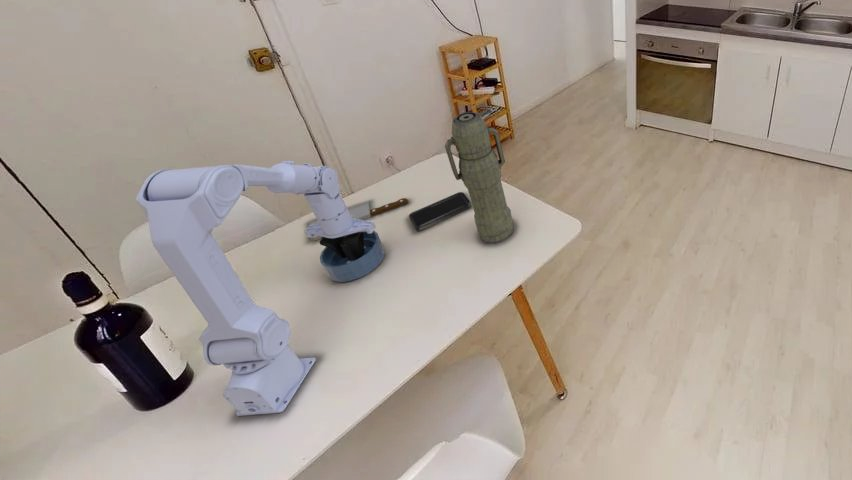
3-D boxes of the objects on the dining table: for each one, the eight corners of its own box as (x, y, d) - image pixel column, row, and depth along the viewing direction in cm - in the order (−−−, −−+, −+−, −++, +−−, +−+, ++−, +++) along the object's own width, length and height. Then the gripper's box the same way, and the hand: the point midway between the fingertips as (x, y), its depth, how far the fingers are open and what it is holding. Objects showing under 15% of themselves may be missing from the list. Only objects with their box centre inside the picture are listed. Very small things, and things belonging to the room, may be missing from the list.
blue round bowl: (370, 281, 95) (362, 265, 92) (317, 285, 95) (307, 268, 92) (394, 243, 106) (387, 227, 103) (347, 246, 105) (338, 230, 102)
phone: (471, 203, 116) (415, 229, 108) (472, 206, 117) (416, 232, 109) (461, 190, 122) (407, 214, 113) (462, 193, 122) (409, 217, 114)
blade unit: (358, 271, 97) (347, 250, 94) (341, 272, 97) (329, 251, 94) (372, 250, 103) (362, 230, 99) (356, 251, 103) (345, 231, 99)
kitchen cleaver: (404, 187, 124) (408, 204, 117) (405, 190, 125) (409, 206, 117) (308, 220, 113) (305, 240, 106) (309, 223, 114) (307, 243, 106)
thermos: (525, 229, 109) (499, 115, 91) (481, 252, 102) (445, 133, 85) (511, 212, 115) (484, 102, 97) (469, 232, 108) (433, 118, 91)
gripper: (373, 198, 96) (392, 240, 102) (310, 202, 95) (333, 243, 102) (357, 219, 90) (378, 262, 96) (289, 223, 89) (315, 266, 96)
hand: (353, 254), depth 99 cm, fingers closed on blade unit, 3 cm apart
